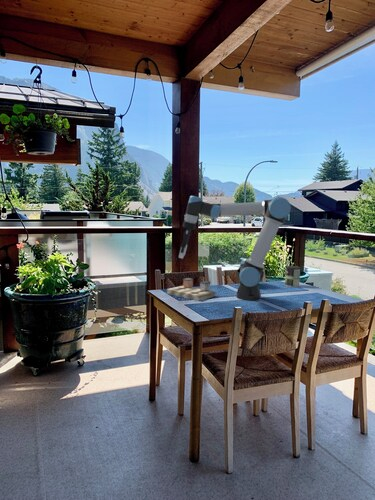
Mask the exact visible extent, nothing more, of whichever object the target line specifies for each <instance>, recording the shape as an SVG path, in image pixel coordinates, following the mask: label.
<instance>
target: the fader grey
mask: <svg viewBox="0 0 375 500" xmlns="http://www.w3.org/2000/svg"><path fill="white" fill-rule="evenodd" d="M199 284H200V285H199V287H200V290H202V291H208V290H211V281H208V280H204V281H203V280H202V281H200V282H199Z"/></svg>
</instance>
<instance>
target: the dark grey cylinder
mask: <svg viewBox="0 0 375 500" xmlns="http://www.w3.org/2000/svg"><path fill="white" fill-rule="evenodd" d="M239 274H240V266H239V267H238V269H237V270H236V271H235V275H236V276H235V277H236V278H237V280H238V281H239V282H240V278H239ZM264 275H265V272H264V270H263V271H262V274H261V276H260V281H259V283H260V282H261V281H262V280H263V277H264Z"/></svg>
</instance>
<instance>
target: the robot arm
mask: <svg viewBox="0 0 375 500" xmlns="http://www.w3.org/2000/svg"><path fill="white" fill-rule="evenodd" d="M291 208H292V207H291V203H290V202H289V200H288V199H287V198H284V197H282V196H277V197H274V198H272V199H264V200H262V201H254V202H253V201H252V202H250V201H249V202H229V203H210V202H205V201H203V198H202V197H200V196H199V197H198V196H195V195H190V196H189V199H188V202H187V206H186V211H185V214H184V215H183V216H184V219H183V220H184V221H183V222H182V227H183V228H184V229H185V230H184V231H183V236H182V241H181V244H180V245H179V247H180V248H179V249H180V250H179V254H178V258H179V259H183V260H184V257H185V256H186V254H187V253H186V251H187V249H188V246H189V239H190V238H191V234H192V230H196V228H197V227H196V226H197V225H196V223H197V222H198V220H199V219H198V218H199V214H200V215H201V216H206V217H210V218H214V219H218V218H219V217H221V216H222V217H223V216H225V217H226V216H227V217H228V216H230V217H231V216H254V215H255V216H256V215H258V216H259V215H260V216H261V215H262V216H263V217H264V219H265V220H264V223H263V225H262V228H261V230H260V232H259V234H258V236H257V239H256V242H255V244H254V246H253V248H252V251H251V253H250V256H249V257H248V258H247V259H245V260H242V261H240V263H239V267H240V274H239V278H240V281H239V285H238V287H237V288H238V289H237V292H236V298H238V299H240V300H243V301H244V300H246V301H256V300H261V298H262V294H261V293H262V292H261V290H260V286H259V283H260V282H261V281H260V276H261V274H262V271H263V272H264V269H265V266H264V262H265V260H266V257H267V256H268V253H269V250H270V249H271V246H272V244H273V241H274V239H275V237H276V235H277V233H278V231H279V228H280V226H282V225H284V223H285V221H286V219H287V216H289V214H290V213H291ZM259 281H260V282H259Z"/></svg>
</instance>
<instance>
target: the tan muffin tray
mask: <svg viewBox="0 0 375 500" xmlns="http://www.w3.org/2000/svg"><path fill="white" fill-rule="evenodd" d="M166 294H167V295H169V296H170V295H171V296H174V297H180V298H185V299H189V300H193V301H198V302H200V301H203V300H206V299H207V300H208V299H210V298H213V297H216V291H215V290H212V289H210V290H208V291H202V290H200V288H199V287H195V286H193V287H189V288H187V287H183V285H179V286H175V287H170V288H167V289H166Z"/></svg>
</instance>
